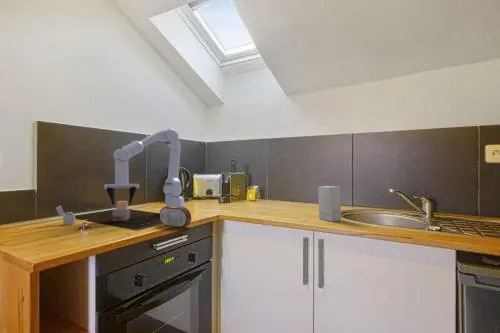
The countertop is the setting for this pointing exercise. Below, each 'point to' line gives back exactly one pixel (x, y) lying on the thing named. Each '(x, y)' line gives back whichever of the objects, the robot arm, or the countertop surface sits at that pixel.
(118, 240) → the countertop surface
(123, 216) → the walnut slab
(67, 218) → the lighter
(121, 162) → the robot arm
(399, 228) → the countertop surface
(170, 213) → the tin
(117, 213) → the charcoal slab
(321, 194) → the skincare box
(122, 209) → the terracotta cube
